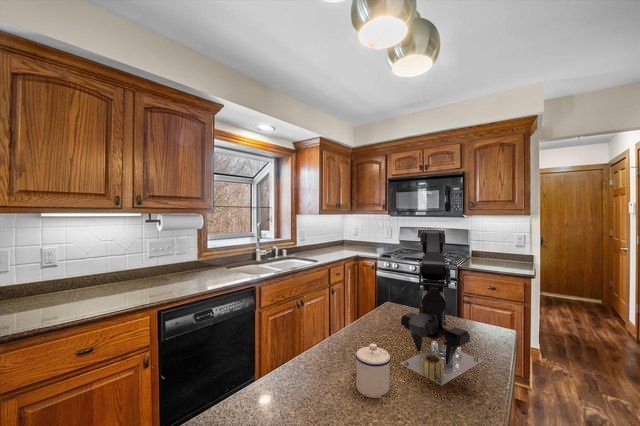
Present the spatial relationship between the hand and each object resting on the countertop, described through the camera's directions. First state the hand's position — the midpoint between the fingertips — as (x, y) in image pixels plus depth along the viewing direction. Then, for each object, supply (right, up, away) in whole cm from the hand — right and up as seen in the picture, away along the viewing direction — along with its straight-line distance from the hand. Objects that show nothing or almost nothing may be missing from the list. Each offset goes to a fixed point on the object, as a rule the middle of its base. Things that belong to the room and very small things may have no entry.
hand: (432, 357), depth 84 cm
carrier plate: (+5, -5, +6) cm, 10 cm away
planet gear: (0, -4, 0) cm, 4 cm away
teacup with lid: (-19, -5, -5) cm, 21 cm away
